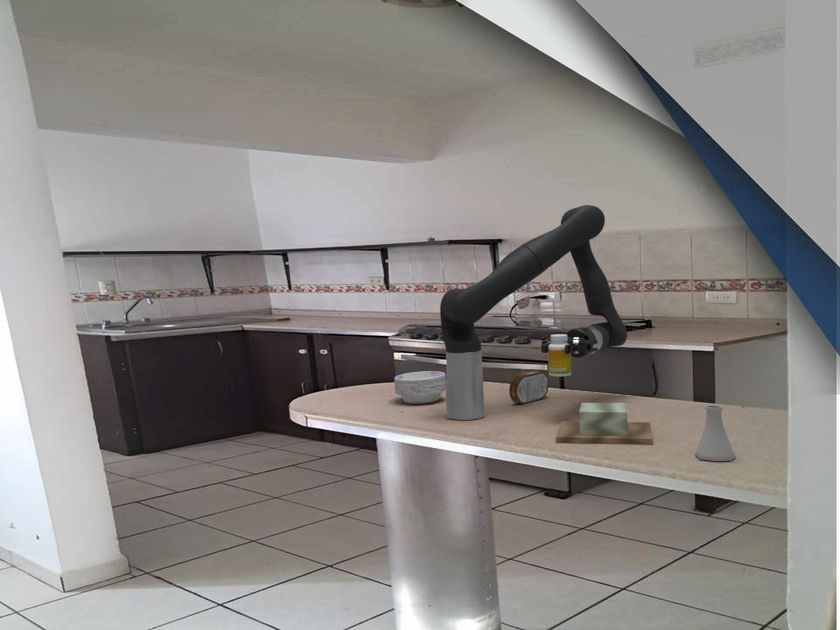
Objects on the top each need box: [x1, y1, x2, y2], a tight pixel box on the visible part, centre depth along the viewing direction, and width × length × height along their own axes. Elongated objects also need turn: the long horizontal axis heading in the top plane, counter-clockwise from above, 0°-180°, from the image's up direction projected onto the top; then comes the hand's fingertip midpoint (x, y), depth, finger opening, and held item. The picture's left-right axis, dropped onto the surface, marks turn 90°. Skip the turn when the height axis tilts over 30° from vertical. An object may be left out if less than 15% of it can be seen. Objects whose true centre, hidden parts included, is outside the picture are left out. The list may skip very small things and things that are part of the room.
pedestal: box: [555, 402, 654, 445], centre depth 156 cm, size 20×15×6 cm
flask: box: [694, 404, 736, 462], centre depth 135 cm, size 7×7×10 cm
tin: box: [508, 369, 549, 405], centre depth 197 cm, size 15×3×8 cm, turn 133°
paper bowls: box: [393, 370, 447, 405], centre depth 206 cm, size 15×15×8 cm
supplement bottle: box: [547, 333, 572, 377], centre depth 169 cm, size 5×5×10 cm
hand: (554, 349), depth 167 cm, fingers closed on supplement bottle, 5 cm apart
